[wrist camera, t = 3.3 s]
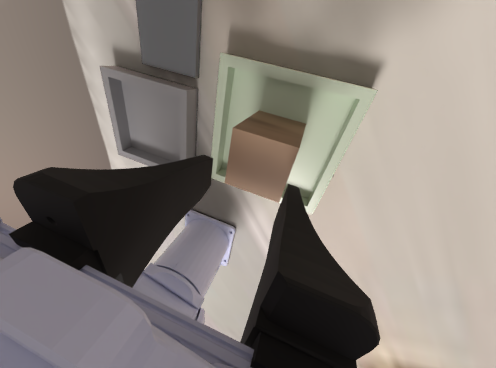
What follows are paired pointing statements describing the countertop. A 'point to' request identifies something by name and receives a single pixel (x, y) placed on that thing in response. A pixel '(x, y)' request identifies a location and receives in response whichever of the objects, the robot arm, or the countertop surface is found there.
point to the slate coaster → (170, 34)
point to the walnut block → (263, 154)
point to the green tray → (290, 117)
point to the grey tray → (151, 116)
